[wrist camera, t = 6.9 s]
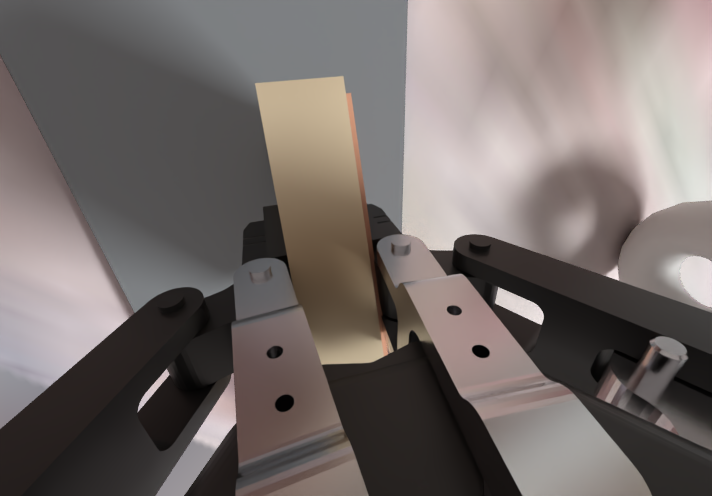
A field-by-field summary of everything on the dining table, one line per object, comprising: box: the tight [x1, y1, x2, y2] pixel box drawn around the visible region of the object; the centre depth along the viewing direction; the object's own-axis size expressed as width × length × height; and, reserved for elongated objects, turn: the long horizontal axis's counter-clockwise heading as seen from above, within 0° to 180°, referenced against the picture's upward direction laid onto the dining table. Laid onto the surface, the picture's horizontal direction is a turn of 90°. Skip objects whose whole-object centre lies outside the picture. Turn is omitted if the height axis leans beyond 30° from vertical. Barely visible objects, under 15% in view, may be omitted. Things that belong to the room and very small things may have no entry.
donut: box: [618, 201, 712, 313], centre depth 21 cm, size 10×3×10 cm, turn 3°
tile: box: [255, 76, 388, 365], centre depth 12 cm, size 9×2×7 cm, turn 2°
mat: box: [0, 0, 408, 313], centre depth 15 cm, size 18×14×1 cm
